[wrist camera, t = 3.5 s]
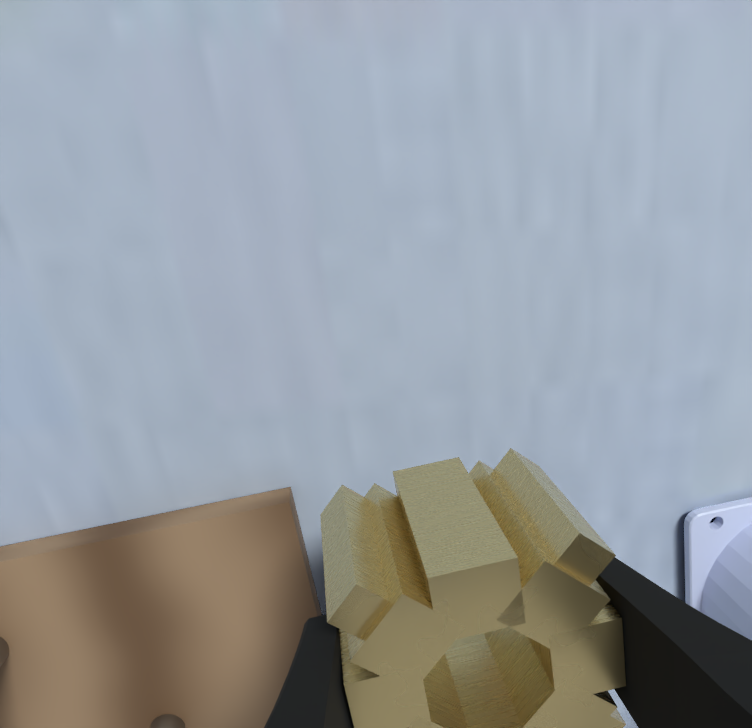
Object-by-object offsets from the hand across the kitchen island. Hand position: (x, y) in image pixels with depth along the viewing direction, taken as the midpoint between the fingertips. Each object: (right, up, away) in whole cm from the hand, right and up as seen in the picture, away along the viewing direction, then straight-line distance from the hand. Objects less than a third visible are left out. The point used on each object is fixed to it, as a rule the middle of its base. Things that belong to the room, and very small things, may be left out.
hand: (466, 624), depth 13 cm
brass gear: (0, +1, +2) cm, 2 cm away
